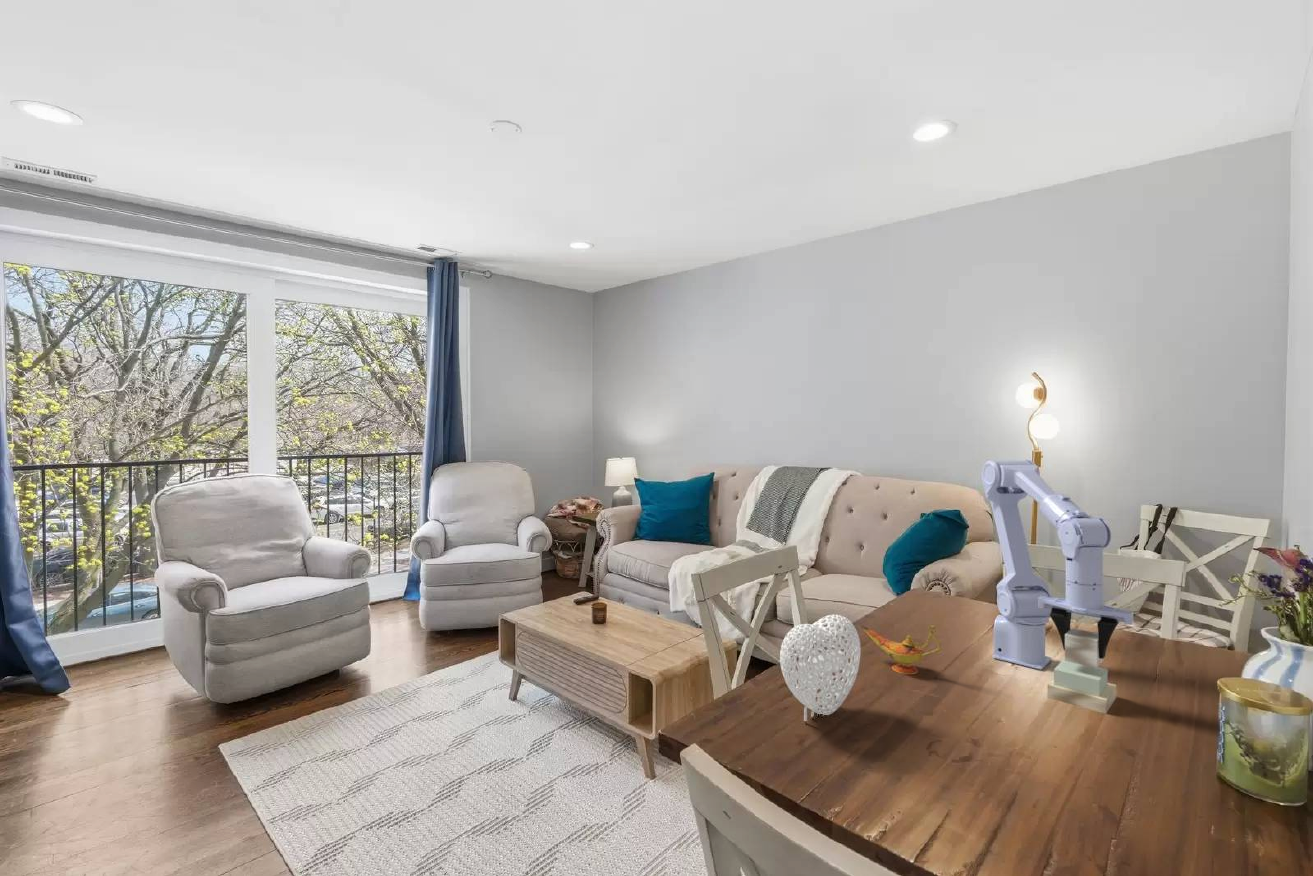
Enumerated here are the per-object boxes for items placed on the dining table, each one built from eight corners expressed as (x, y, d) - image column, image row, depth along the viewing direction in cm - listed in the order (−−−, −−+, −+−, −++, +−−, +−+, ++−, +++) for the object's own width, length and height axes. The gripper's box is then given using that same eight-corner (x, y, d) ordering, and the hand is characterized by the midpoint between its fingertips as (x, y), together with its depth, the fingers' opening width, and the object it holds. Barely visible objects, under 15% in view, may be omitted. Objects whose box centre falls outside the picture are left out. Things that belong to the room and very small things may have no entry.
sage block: (1053, 685, 113) (1053, 669, 113) (1063, 674, 118) (1063, 659, 118) (1099, 697, 108) (1099, 680, 108) (1107, 685, 113) (1107, 669, 113)
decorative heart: (827, 690, 118) (826, 603, 117) (876, 710, 109) (875, 617, 109) (765, 718, 107) (764, 623, 106) (814, 743, 98) (813, 640, 98)
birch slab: (1047, 700, 113) (1047, 685, 113) (1060, 686, 120) (1060, 671, 120) (1106, 717, 107) (1106, 700, 107) (1116, 700, 113) (1116, 685, 113)
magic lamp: (866, 651, 138) (866, 603, 137) (947, 675, 124) (947, 622, 124) (850, 659, 133) (850, 610, 133) (932, 685, 119) (932, 630, 119)
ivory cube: (1064, 660, 113) (1064, 634, 113) (1071, 653, 117) (1071, 628, 117) (1097, 668, 110) (1097, 641, 109) (1103, 660, 113) (1103, 634, 113)
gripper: (1033, 578, 115) (1033, 648, 116) (1128, 593, 105) (1127, 670, 105) (1044, 572, 120) (1044, 639, 121) (1135, 585, 110) (1135, 659, 110)
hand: (1083, 653), depth 113 cm, fingers closed on ivory cube, 5 cm apart
